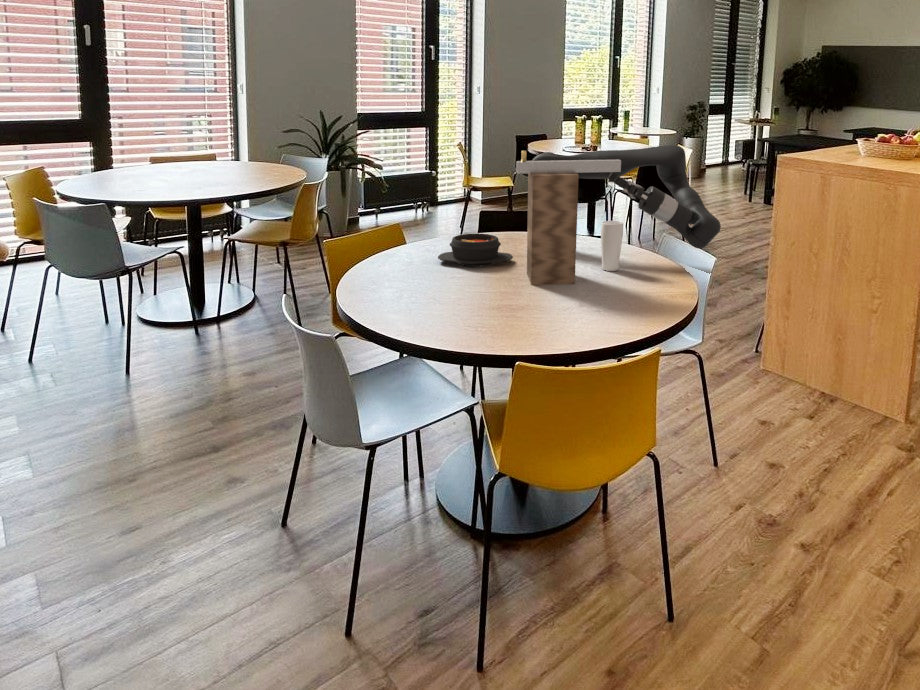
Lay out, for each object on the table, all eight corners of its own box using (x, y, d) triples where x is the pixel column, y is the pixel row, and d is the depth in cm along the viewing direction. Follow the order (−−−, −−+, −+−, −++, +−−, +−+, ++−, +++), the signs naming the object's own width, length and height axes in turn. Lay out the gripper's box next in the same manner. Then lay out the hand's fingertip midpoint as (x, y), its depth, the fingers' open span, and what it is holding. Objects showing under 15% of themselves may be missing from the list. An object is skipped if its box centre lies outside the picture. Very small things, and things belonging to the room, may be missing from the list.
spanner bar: (517, 173, 230) (517, 151, 228) (516, 172, 233) (516, 150, 231) (620, 171, 230) (621, 150, 228) (618, 170, 233) (619, 148, 231)
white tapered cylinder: (597, 267, 255) (599, 220, 250) (617, 266, 256) (620, 220, 251) (602, 272, 249) (604, 224, 244) (623, 271, 249) (626, 224, 244)
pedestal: (531, 284, 236) (532, 175, 225) (526, 274, 248) (528, 169, 238) (574, 283, 236) (578, 174, 226) (568, 273, 248) (571, 169, 238)
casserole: (515, 257, 271) (515, 232, 268) (510, 270, 254) (510, 244, 251) (442, 255, 275) (442, 231, 272) (433, 268, 257) (432, 242, 254)
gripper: (659, 190, 241) (614, 163, 238) (671, 197, 228) (624, 169, 225) (645, 211, 243) (601, 185, 240) (657, 220, 230) (610, 192, 227)
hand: (612, 177), depth 232 cm, fingers open, 8 cm apart
